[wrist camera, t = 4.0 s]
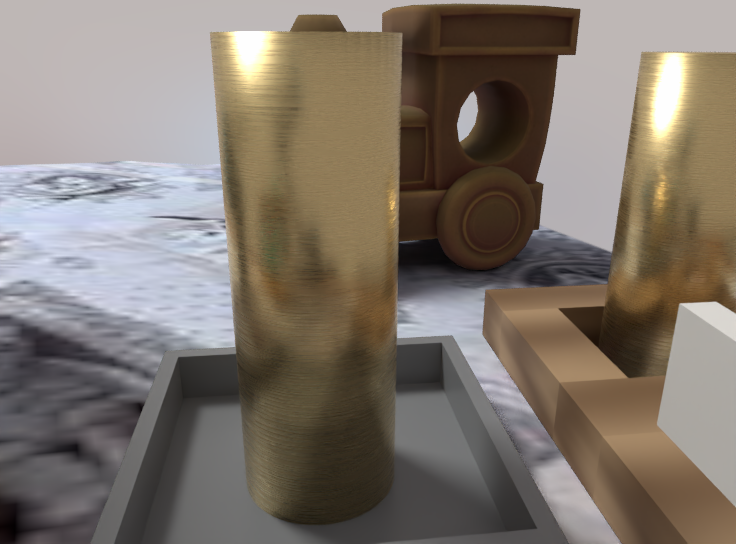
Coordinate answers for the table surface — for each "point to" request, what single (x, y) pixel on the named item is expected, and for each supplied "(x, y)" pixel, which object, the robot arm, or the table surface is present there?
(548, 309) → the wooden holder frame
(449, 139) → the wooden toy train
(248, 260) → the cylinder
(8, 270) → the table surface
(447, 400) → the grey square tray
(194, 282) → the table surface
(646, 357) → the cylinder
